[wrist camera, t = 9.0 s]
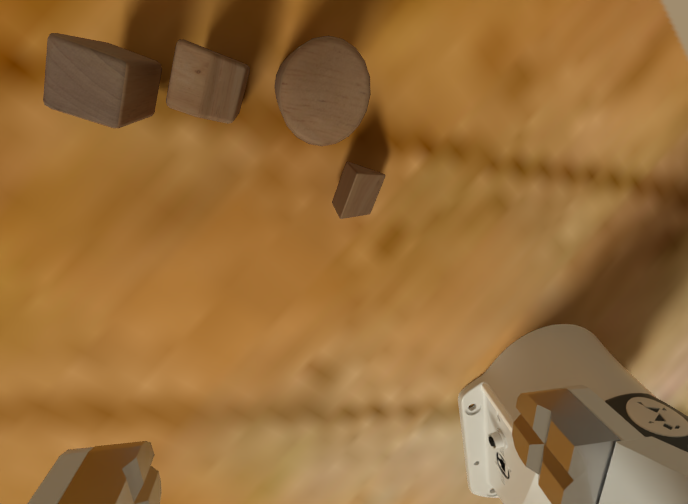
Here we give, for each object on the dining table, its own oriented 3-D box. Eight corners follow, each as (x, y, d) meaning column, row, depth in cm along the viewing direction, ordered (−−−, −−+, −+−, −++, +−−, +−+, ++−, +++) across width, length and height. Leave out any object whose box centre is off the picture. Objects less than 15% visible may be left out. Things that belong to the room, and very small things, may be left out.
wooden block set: (104, 125, 24) (1, 158, 15) (124, -31, 21) (10, -113, 12) (363, 206, 29) (407, 267, 20) (409, 92, 26) (485, 102, 17)
